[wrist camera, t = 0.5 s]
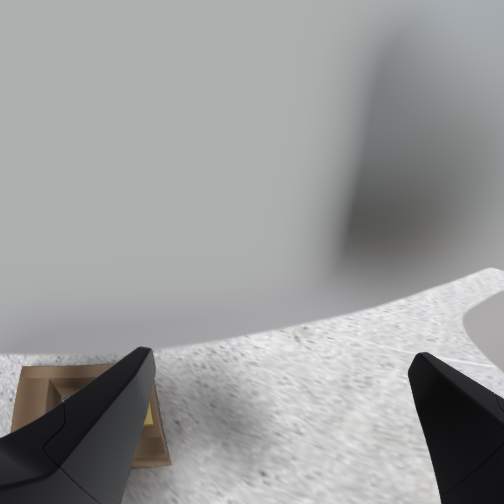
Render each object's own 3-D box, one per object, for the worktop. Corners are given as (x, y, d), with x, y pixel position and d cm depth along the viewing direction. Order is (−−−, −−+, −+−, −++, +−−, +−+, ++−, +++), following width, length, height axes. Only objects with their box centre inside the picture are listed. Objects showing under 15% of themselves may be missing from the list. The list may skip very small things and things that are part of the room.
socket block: (154, 378, 25) (148, 357, 23) (171, 464, 17) (164, 451, 15) (34, 384, 20) (21, 364, 19) (27, 462, 12) (7, 447, 11)
